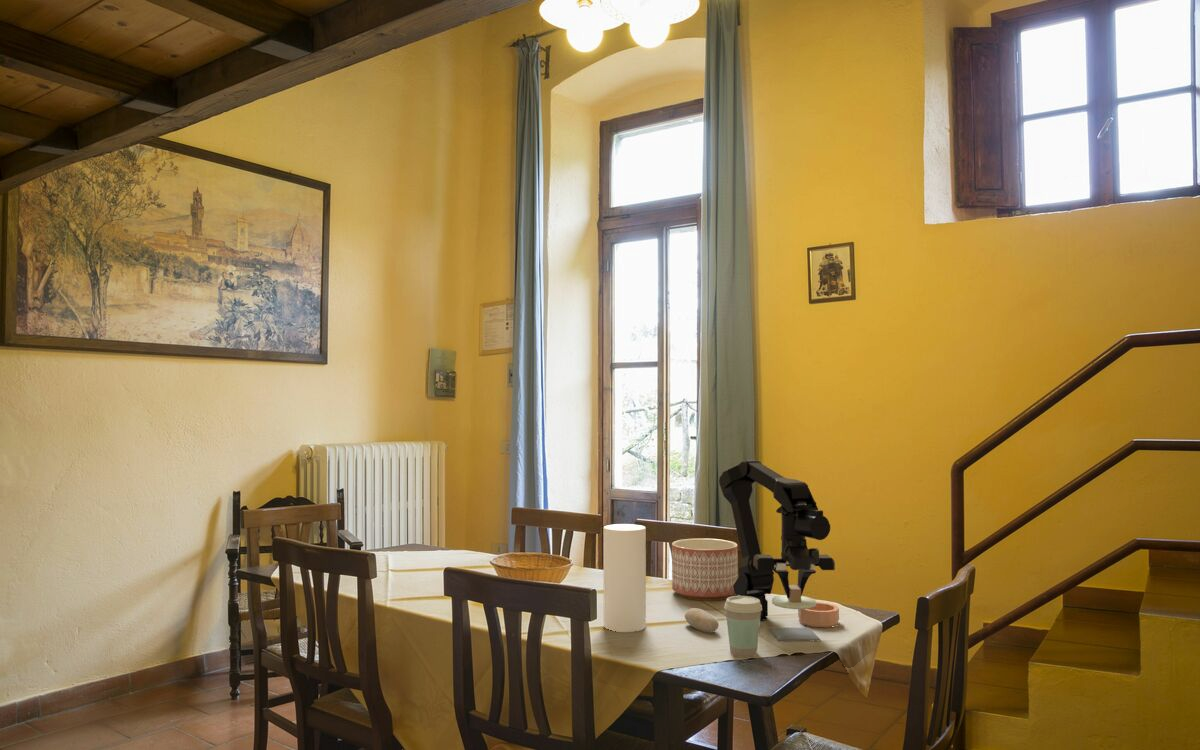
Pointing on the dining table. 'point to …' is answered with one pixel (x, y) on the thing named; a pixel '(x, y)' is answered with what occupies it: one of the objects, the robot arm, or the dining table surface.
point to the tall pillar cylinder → (625, 577)
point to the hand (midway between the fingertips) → (793, 597)
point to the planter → (704, 568)
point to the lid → (794, 600)
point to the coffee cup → (743, 624)
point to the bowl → (819, 615)
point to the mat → (794, 634)
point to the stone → (701, 620)
